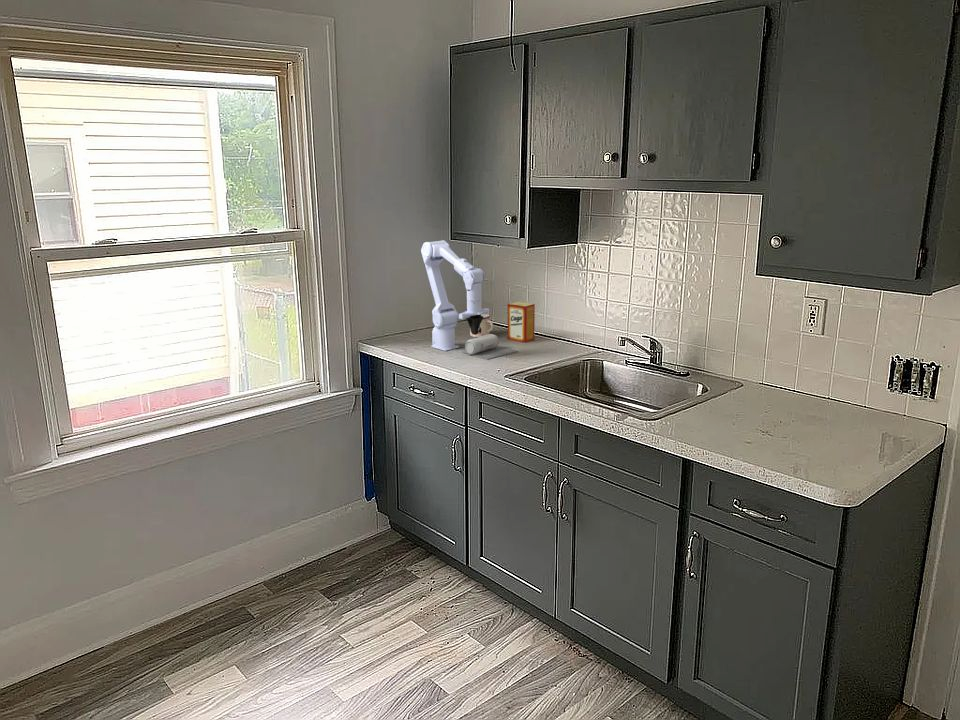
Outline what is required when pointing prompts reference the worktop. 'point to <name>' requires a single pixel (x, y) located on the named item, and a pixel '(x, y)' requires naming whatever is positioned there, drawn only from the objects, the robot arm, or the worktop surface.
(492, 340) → the energy drink can
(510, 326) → the baking soda box
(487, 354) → the mat
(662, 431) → the worktop surface
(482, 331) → the teacup with lid
